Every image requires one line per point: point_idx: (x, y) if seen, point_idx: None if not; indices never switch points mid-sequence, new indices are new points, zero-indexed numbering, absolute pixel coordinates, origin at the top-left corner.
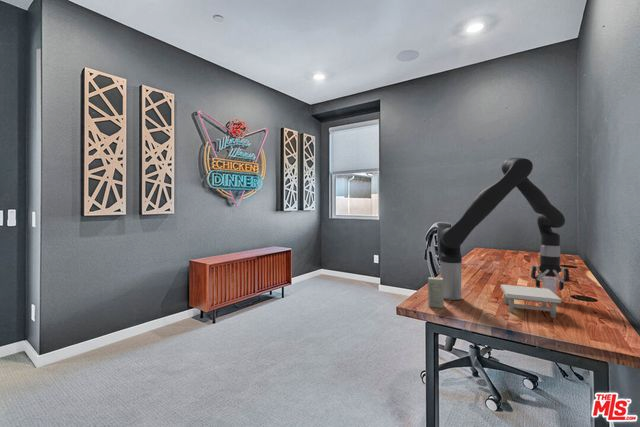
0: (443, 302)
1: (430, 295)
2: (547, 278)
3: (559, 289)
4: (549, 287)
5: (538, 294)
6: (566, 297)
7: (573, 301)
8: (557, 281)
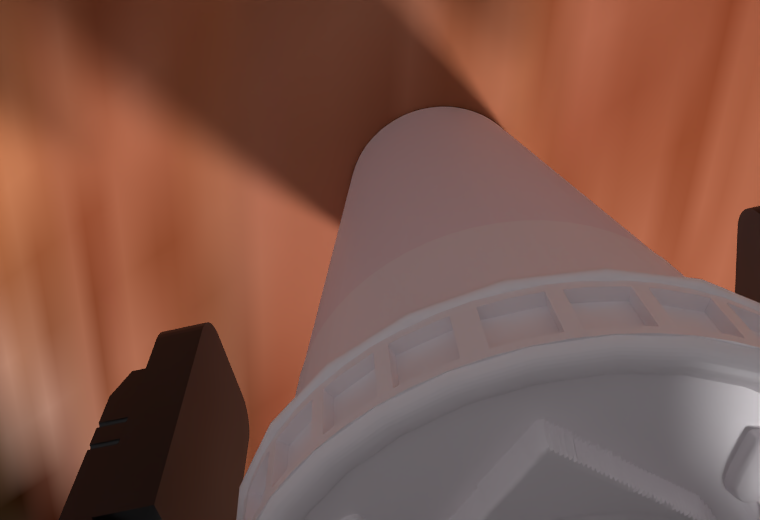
0: None
1: None
2: (699, 514)
3: (229, 374)
4: (513, 192)
5: None
6: None
7: (13, 256)
8: (252, 474)
